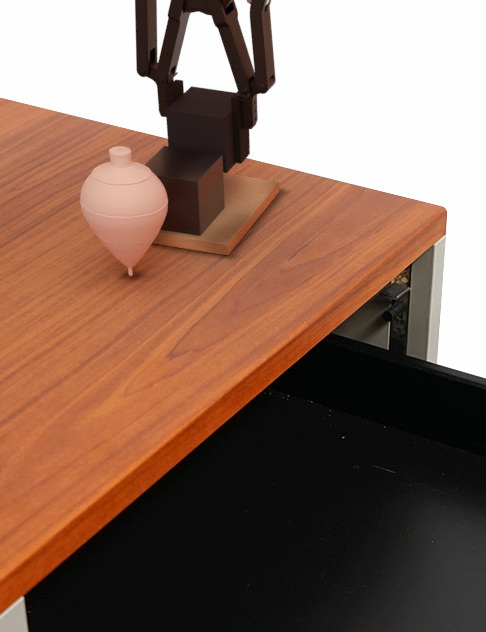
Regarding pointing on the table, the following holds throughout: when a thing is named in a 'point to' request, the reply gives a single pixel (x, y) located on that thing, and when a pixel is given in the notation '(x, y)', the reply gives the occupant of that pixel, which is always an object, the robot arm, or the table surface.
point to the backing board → (231, 219)
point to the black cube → (203, 123)
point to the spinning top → (124, 206)
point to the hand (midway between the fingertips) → (210, 153)
